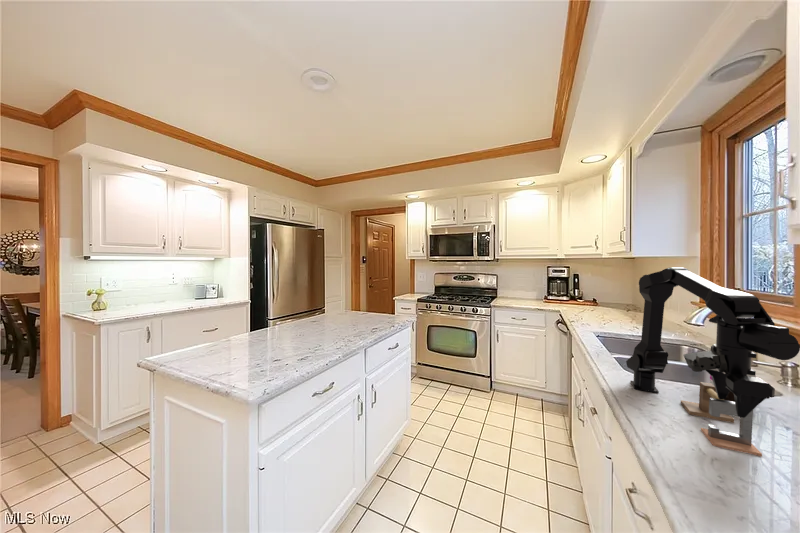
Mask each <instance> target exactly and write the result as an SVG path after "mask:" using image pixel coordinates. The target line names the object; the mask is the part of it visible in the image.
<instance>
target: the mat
mask: <svg viewBox="0 0 800 533" xmlns="http://www.w3.org/2000/svg"><path fill="white" fill-rule="evenodd" d="M700 431H701V432H702V433H703V434H704V436H705V437H706V439H708V441H709V442H710V443H711V444H712V446H714V447H719V448H723V449H727V450H731V451H736V452H740V453H745V454H750V455H755V456H758V457H763V453H762V452H761V451H760V450H759V449H758V448H757V447H756V446H755V445H754V444H753V443H751V446H750V445H745V444H740V443H736V442H731V441H726V440H722V439H717V438H712V437H710V436H709V435H708V428H704V427H701V428H700Z"/></svg>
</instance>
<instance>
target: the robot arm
mask: <svg viewBox="0 0 800 533" xmlns="http://www.w3.org/2000/svg"><path fill="white" fill-rule="evenodd" d="M676 287H681V289H683V290H686V291H688V292H689V293H691V294H692V295H694V296H696V297H698V298H700V299H701V300H702V301H703V302H705V306H706V308H708V309H709V310H710V311H711V312H712V313H713V314H715V316H714V317H713V316H712V317H711V318H709V319H708V322H709V323H712V324H713V323H714V324H716V341H715V344H716V345H714V344H712V345H711V346H710V350H705V351H704V350H703V351H702V350H701V351H697V352H696V351H695V352H689V353H688V352H687V353H684V354H683V357H684V360H685V362H686V365H687V367H688V368H689V369H691V370H692V371H693V372H696V373H697V372H698V373H700V372H703V371H705V372H706V373H708V374H709V376H710V375H711V377H712V380H713V383H714V386H715V389H716V393H717V396H718V398H719V399H723V400H725V398H726V397H727V395H728V393H729V391H731V392H732V393H733V394H734V399H735V405H736V411H737V415H738V416H739V417H738V418H740V417H743V418H745V417H746V416H747V415H748V414H749V413H750V412H751V411H752V410H753V411H754V410H755V409H756V407H758V406H759V405H760V404H761V403H762V402H764V401H765V400H767V399H770V398H775V393H776V392H775V391H776V388H775V387H774V386H772V384H770V383H768V382H767V381H765V380H764V379H762V378H760V377H759V376H758V377H751V376H747V375H757V374H756V371H755V370H754V369H752V359H757V354H760V355H762V356H766V357H769V358H772V359H776V360H779V361H788V360H789V361H790V360H792V359H794V358H796V357H797V356H798V354H799V352H800V344H799V341H798V339H797V338H796V337H795V336H794V335H792V334H791V333H790V328H789V327H784V326H776V324H775V321H773V320H772V317H771V316H770V315H769V313H768V312H767V311H766V309H765V308H764V307H763V305H762V304H761V302H760V298H758V297H757V296H755V295H754V294H751V293H748V292H744V291H742V290H741V291H740V290H736V289H731V288H726V287H722V286H720V285H718V284H717V283H714V282H712V281H710V280H708V279H706V278H704V277H701V276H700V275H698V274H696V273H694V272H692V271H690V270H689V269H688V268H685V267H678V266H677V267H667V268H665V269H662V270H660V271H655V272H652V273H649V274H644V275H642V276H641V277H640V278H639V280H638V288H639V289H638V290H639V293H640V295H641V297H642V298H643V299H644V300H643V301H644V303H643V304H644V306H643V315H642V317H643V318H642V325H641V326H642V328H641V338H640V341H639V342H638V344H636V346H635V347H634V349H633V354H632V355H631V356H630V357H629V358H627V360H626V361H625V363H626V364H625V365H626V367H627V368H628V369H630V370H632V371H633V380H630V382H629V383H630V384H631V385H632V388H633V389H634V390H637V391H643V392H644V391H645V392H649V393H657V394H659V393H660V392H659V390H658V388H657V386H656V373H657V374H659V373H660V374H664V371H665V368H666V366H667V365H668V364H669V363H668V358H669V353H668V351H665V349H664V347H662V344H661V343H662V334H663V323H664V312H665V303H666V302H667V301H668V299H670V298H671V296H672V295H673V292H674V288H676Z"/></svg>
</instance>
